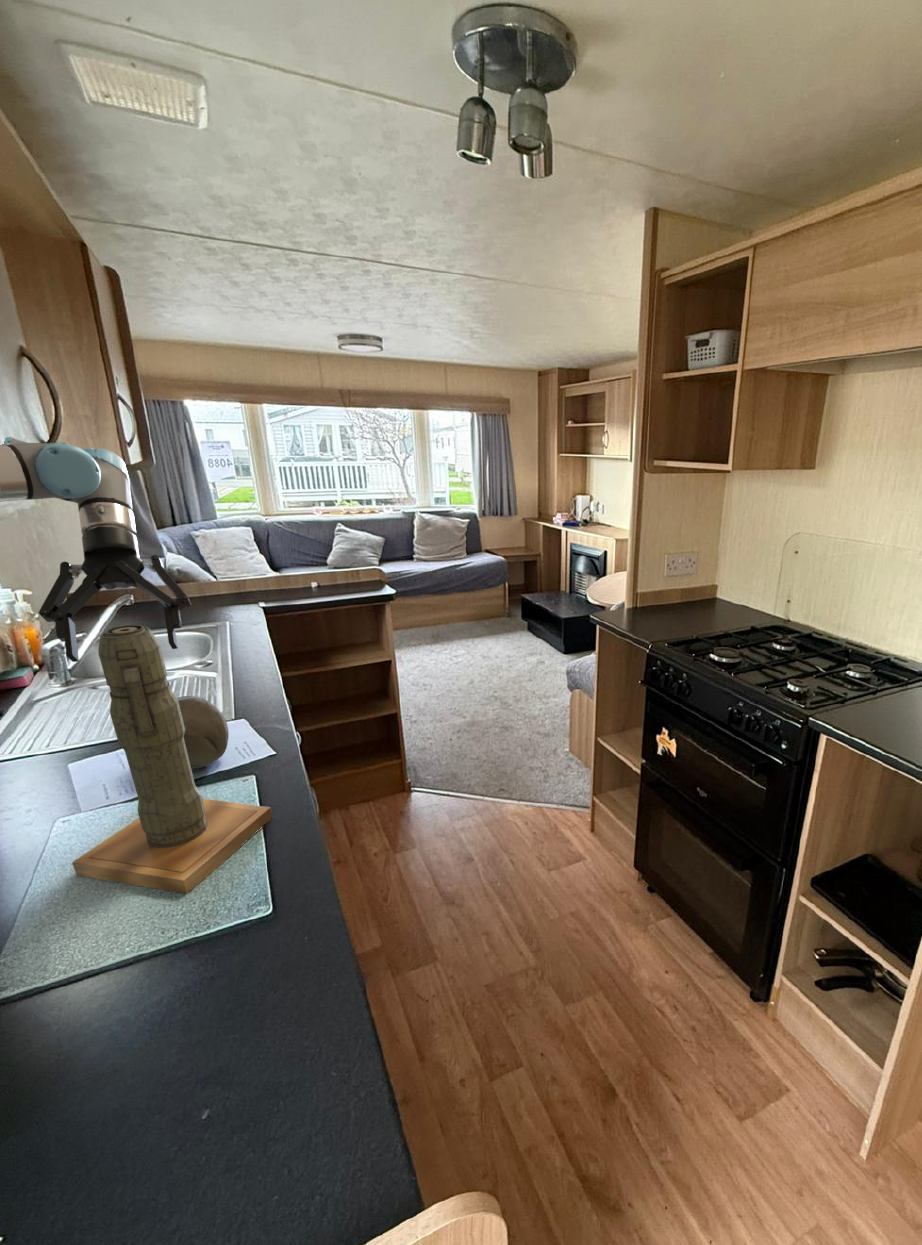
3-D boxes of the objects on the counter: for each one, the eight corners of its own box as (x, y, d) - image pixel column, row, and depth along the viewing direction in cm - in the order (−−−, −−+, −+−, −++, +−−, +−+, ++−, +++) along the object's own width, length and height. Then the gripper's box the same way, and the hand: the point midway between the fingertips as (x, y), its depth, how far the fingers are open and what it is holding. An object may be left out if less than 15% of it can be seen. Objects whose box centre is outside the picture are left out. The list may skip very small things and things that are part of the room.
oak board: (76, 875, 95) (71, 861, 94) (176, 806, 113) (173, 794, 112) (187, 893, 91) (183, 879, 90) (272, 819, 110) (270, 806, 109)
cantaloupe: (234, 744, 137) (221, 682, 131) (234, 773, 125) (219, 705, 119) (160, 757, 131) (143, 693, 125) (152, 789, 119) (133, 719, 113)
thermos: (150, 860, 95) (88, 645, 82) (142, 824, 103) (85, 625, 91) (214, 839, 100) (165, 633, 87) (202, 807, 108) (155, 616, 96)
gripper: (5, 529, 95) (16, 655, 90) (189, 519, 105) (208, 632, 100) (26, 553, 102) (37, 672, 97) (198, 542, 112) (215, 648, 107)
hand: (124, 652), depth 99 cm, fingers open, 13 cm apart
